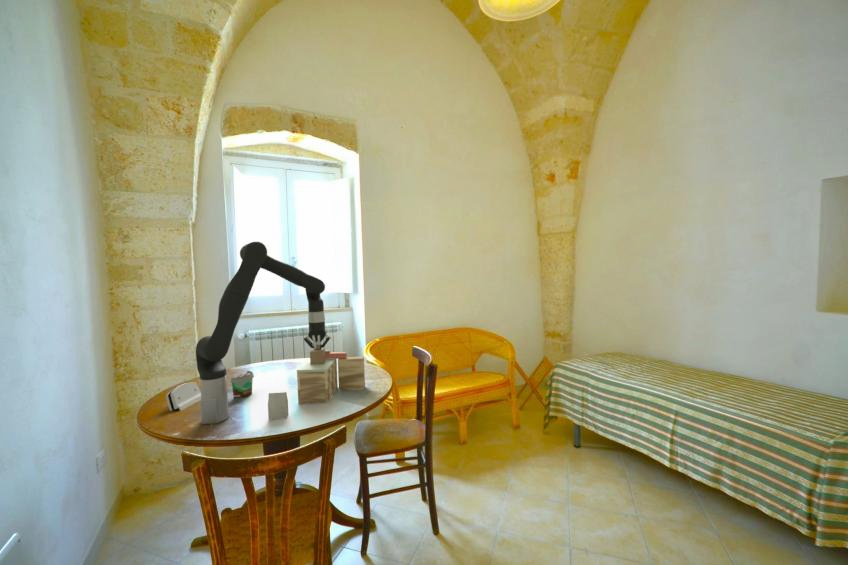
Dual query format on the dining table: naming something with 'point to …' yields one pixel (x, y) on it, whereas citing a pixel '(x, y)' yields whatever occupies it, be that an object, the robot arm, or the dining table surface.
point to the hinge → (183, 396)
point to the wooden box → (331, 380)
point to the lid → (317, 362)
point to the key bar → (334, 354)
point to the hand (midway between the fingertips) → (318, 356)
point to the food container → (242, 385)
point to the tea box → (277, 406)
